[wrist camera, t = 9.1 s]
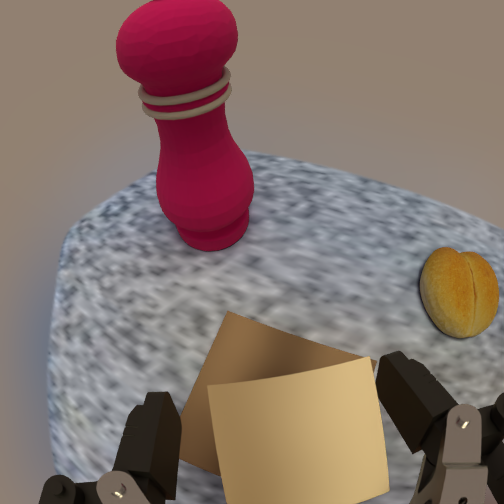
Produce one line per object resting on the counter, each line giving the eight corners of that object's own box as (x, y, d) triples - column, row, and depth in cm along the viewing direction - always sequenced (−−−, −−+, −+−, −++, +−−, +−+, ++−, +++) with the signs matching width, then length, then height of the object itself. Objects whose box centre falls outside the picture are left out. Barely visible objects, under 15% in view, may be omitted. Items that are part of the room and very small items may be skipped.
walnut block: (360, 366, 18) (376, 361, 15) (311, 489, 13) (320, 503, 11) (231, 322, 20) (227, 310, 17) (177, 443, 15) (164, 451, 13)
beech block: (304, 377, 15) (369, 356, 6) (315, 439, 13) (389, 490, 4) (236, 388, 15) (206, 385, 6) (246, 451, 13) (231, 526, 4)
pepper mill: (272, 220, 24) (284, -40, 6) (207, 274, 21) (118, -21, 4) (218, 177, 26) (189, -34, 9) (157, 221, 24) (71, 1, 6)
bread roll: (412, 250, 22) (432, 227, 19) (477, 263, 22) (499, 244, 18) (417, 340, 19) (444, 327, 15) (486, 340, 18) (513, 328, 14)
